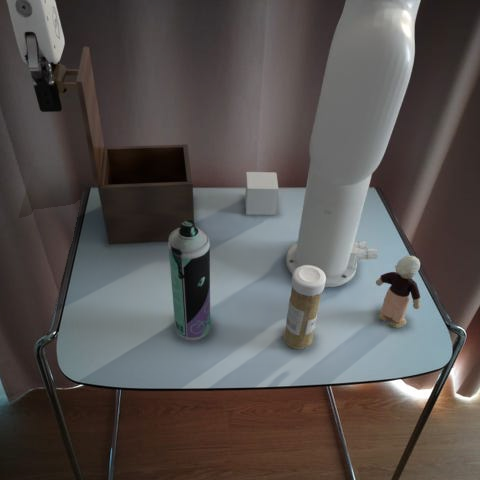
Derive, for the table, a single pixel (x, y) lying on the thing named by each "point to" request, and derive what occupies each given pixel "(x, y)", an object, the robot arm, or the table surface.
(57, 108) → the robot arm
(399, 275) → the grandmother figurine
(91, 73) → the lid
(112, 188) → the chest
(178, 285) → the spray can
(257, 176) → the white cube
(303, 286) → the sprinkles bottle
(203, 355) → the table surface
